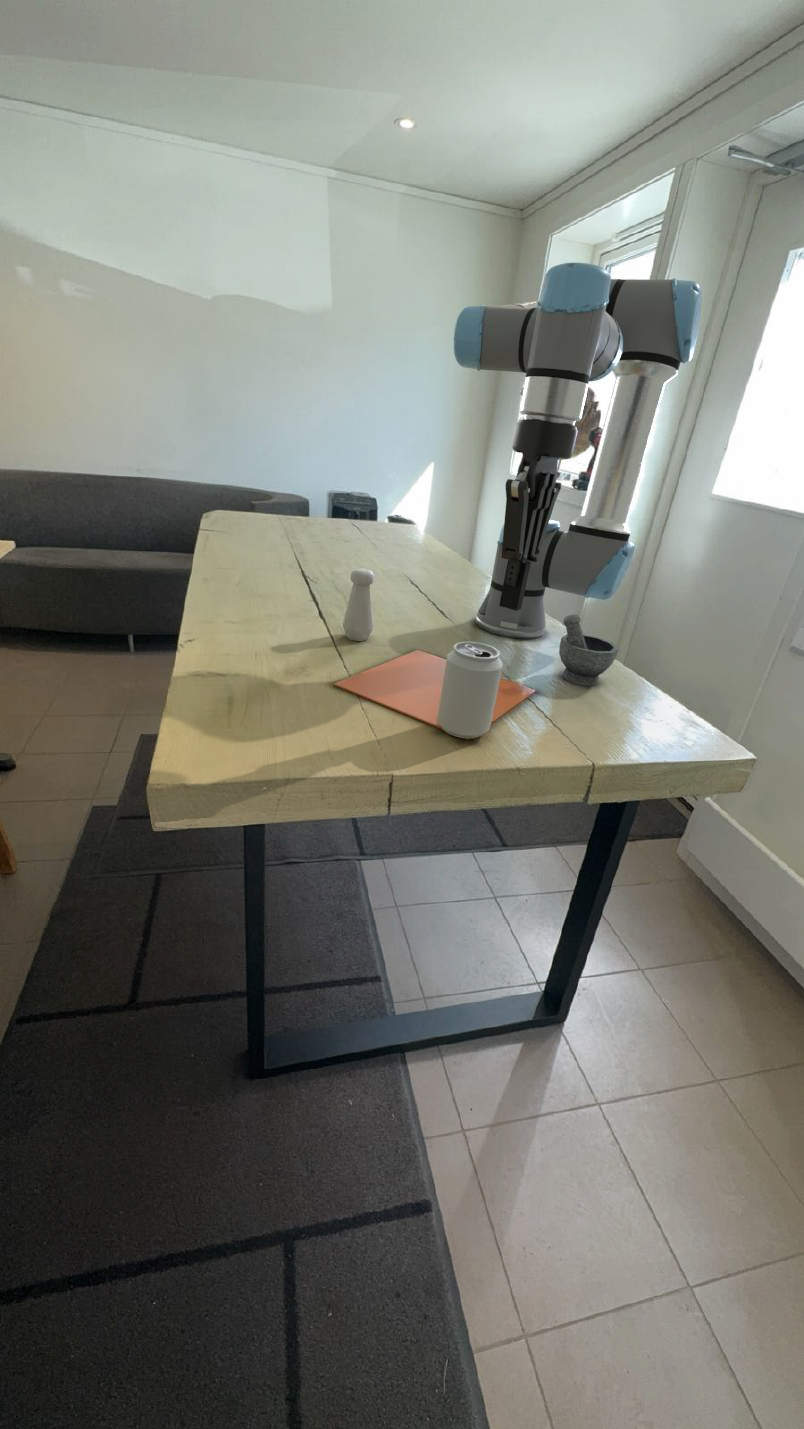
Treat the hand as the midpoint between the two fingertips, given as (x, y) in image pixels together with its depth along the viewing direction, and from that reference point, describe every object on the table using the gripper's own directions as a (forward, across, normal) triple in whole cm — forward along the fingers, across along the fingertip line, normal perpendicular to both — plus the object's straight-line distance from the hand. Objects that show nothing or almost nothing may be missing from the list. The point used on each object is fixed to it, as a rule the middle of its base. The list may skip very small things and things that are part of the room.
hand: (510, 607), depth 82 cm
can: (+16, +9, 0) cm, 18 cm away
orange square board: (+16, -1, -10) cm, 19 cm away
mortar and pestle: (+16, -25, +5) cm, 31 cm away
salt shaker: (+16, -10, -34) cm, 39 cm away
